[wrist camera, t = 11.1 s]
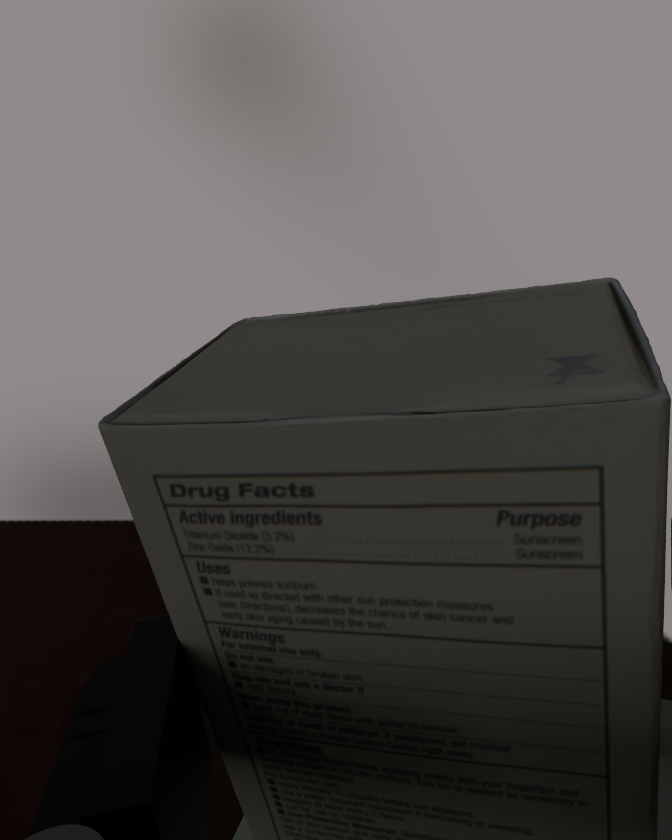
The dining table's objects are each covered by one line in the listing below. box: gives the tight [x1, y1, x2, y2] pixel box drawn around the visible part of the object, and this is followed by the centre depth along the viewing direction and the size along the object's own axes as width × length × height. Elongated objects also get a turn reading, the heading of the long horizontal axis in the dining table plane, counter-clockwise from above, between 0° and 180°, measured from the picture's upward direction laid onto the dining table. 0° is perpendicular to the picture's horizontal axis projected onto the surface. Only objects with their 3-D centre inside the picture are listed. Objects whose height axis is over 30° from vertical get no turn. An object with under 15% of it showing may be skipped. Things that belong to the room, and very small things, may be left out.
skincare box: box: [98, 278, 671, 840], centre depth 11 cm, size 6×4×12 cm
